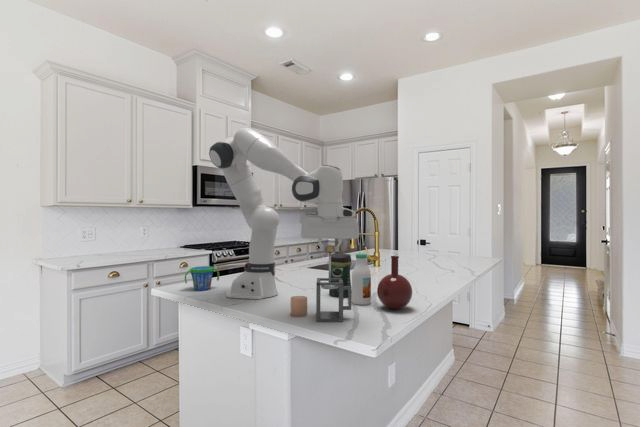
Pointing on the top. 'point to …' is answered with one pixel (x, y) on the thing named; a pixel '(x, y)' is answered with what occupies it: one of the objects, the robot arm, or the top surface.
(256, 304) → the top surface
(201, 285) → the snack cup
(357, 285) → the milk bottle
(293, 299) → the wooden block
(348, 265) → the coffee jar
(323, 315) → the frame
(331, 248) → the plunger
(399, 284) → the round-bottom flask
